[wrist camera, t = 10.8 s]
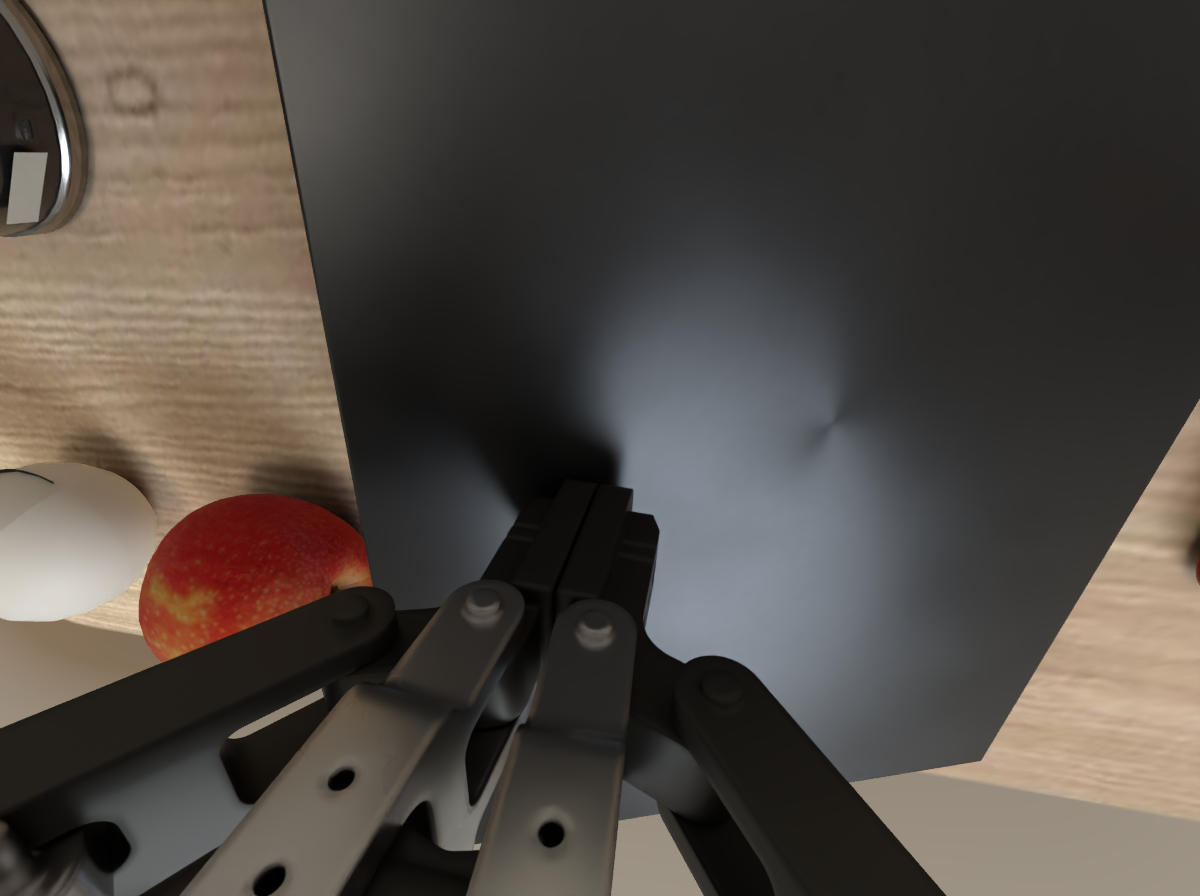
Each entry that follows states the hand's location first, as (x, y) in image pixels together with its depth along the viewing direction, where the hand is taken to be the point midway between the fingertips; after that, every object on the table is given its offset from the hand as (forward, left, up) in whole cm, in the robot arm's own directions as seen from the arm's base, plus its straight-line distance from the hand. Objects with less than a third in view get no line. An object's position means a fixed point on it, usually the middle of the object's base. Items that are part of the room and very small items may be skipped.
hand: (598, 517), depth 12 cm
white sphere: (-18, -24, -9) cm, 31 cm away
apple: (-7, -17, -9) cm, 20 cm away
